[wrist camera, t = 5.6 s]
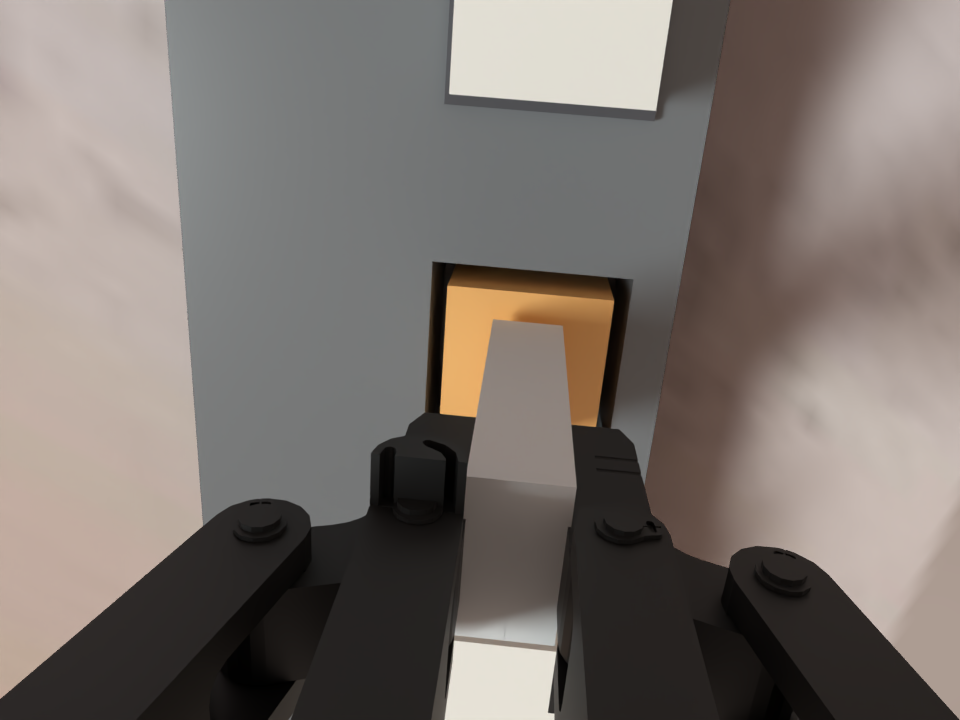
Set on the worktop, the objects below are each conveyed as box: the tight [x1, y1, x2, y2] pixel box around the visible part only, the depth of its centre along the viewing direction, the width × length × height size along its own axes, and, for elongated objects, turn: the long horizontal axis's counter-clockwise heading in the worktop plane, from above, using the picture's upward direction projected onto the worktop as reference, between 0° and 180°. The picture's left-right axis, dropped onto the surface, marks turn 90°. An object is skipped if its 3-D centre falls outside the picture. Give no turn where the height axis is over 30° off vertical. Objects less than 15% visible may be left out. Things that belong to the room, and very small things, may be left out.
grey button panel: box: [164, 0, 730, 720], centre depth 18 cm, size 24×11×6 cm, turn 176°
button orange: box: [440, 264, 614, 427], centre depth 19 cm, size 4×4×3 cm
